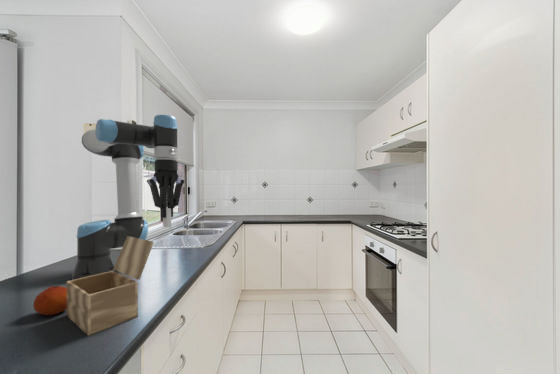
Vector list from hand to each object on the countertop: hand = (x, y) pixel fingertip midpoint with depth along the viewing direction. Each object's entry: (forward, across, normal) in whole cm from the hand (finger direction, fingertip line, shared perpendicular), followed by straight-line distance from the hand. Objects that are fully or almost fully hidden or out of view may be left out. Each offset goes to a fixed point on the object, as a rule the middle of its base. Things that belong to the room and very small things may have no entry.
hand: (167, 226), depth 92 cm
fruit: (+24, -28, +15) cm, 39 cm away
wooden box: (+24, -20, 0) cm, 31 cm away
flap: (+8, -12, 0) cm, 14 cm away
